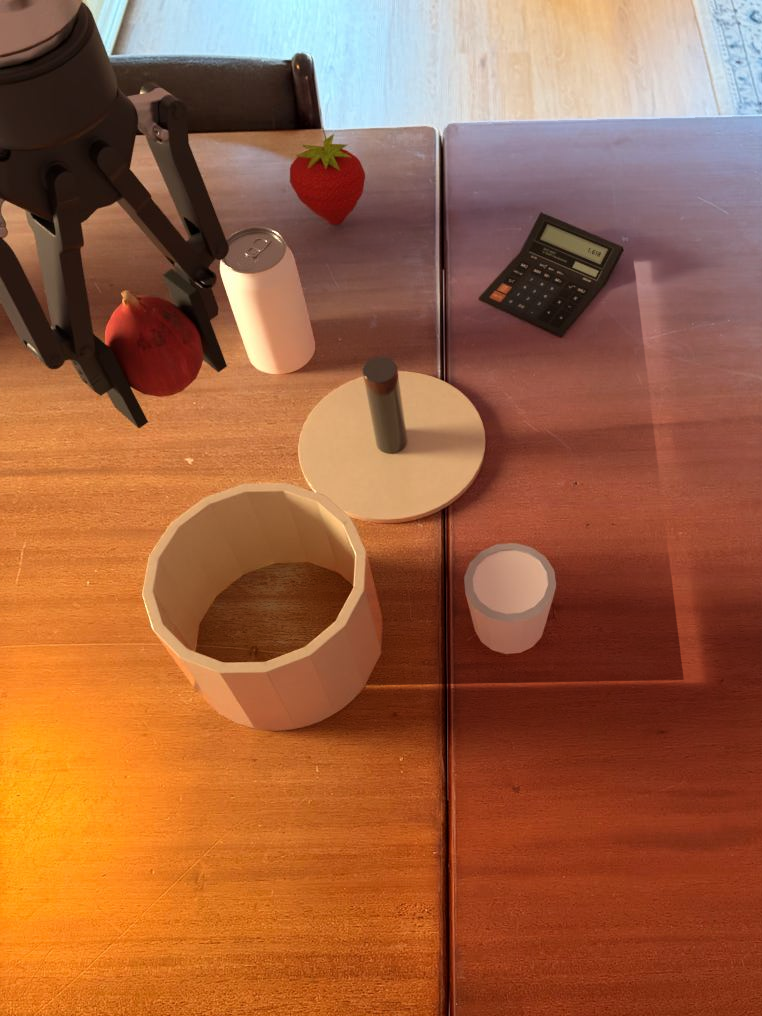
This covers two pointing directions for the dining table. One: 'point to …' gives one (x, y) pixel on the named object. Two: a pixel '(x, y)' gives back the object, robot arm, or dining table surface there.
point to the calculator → (554, 275)
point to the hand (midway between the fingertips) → (171, 385)
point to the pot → (242, 549)
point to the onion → (154, 344)
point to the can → (267, 300)
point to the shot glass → (509, 596)
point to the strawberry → (328, 180)
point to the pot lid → (392, 444)
